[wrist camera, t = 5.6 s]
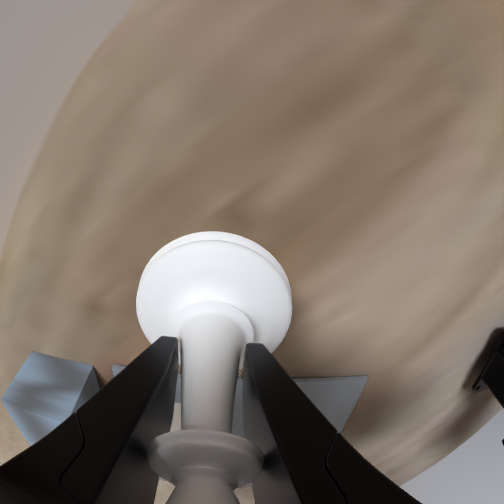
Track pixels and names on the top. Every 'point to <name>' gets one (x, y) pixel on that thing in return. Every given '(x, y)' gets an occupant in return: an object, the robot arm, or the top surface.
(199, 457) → the chess piece
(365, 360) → the top surface
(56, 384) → the blue cube
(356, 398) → the letter sheet
